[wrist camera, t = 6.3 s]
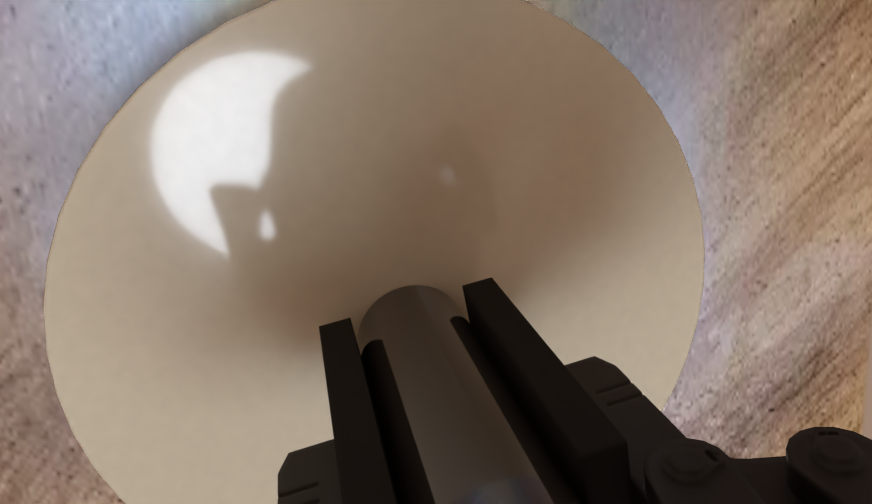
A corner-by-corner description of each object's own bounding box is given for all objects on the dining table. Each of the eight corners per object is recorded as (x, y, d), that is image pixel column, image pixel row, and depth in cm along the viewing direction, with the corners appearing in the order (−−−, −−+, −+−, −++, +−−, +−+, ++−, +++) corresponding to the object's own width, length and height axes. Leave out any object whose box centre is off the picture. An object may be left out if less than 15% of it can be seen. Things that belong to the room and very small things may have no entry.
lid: (664, -84, 15) (1131, -207, 7) (691, 459, 22) (953, 738, 13) (-80, 71, 13) (-737, 168, 5) (196, 630, 19) (134, 1099, 11)
